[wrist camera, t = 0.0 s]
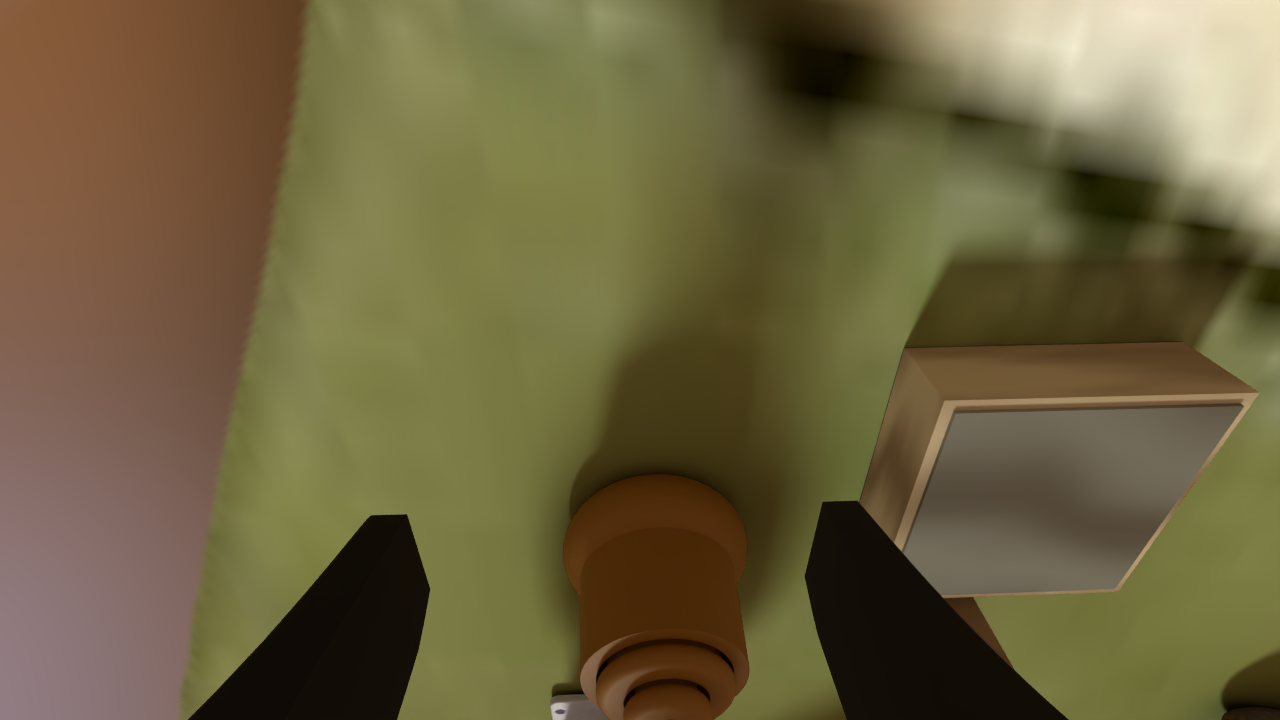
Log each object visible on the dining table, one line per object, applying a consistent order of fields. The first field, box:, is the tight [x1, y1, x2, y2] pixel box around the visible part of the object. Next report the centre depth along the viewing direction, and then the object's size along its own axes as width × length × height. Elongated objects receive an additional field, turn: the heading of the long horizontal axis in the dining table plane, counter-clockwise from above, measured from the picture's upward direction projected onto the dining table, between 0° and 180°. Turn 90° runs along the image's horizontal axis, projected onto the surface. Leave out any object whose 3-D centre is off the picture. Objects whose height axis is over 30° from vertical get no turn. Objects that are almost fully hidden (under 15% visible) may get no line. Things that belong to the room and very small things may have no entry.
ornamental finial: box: [563, 474, 749, 720], centre depth 22 cm, size 8×8×8 cm
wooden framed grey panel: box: [860, 342, 1259, 598], centre depth 22 cm, size 10×10×3 cm
